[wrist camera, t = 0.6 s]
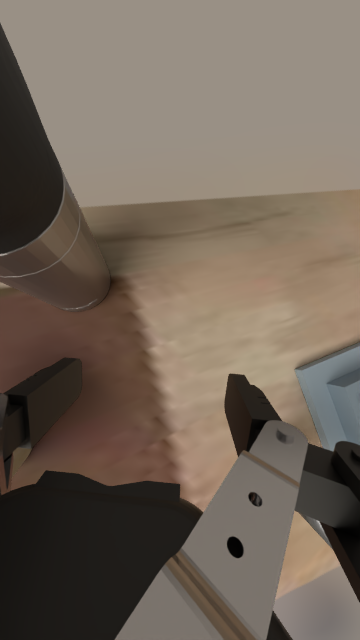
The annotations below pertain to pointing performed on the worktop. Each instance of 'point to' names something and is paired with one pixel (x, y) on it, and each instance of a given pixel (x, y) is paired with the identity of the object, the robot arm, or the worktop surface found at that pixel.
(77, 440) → the worktop surface
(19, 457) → the flower pot
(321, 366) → the block
